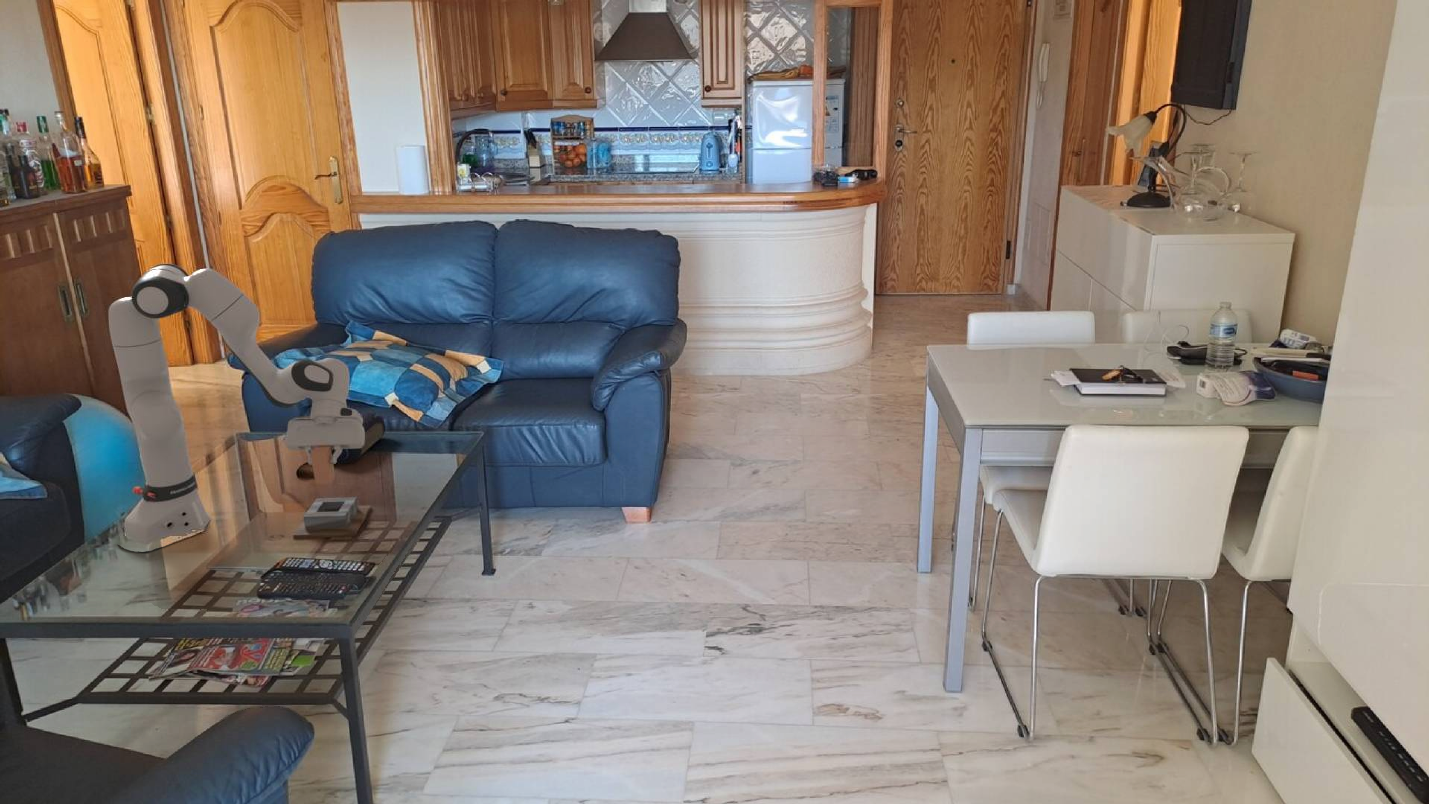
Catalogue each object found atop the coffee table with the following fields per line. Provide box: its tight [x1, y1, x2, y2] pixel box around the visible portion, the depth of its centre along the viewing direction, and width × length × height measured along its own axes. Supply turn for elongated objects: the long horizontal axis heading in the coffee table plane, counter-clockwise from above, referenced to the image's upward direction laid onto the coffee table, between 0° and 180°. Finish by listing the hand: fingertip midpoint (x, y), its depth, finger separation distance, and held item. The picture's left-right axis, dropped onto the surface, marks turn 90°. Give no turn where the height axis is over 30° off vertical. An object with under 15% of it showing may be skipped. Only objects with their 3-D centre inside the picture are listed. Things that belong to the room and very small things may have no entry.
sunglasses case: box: [295, 459, 338, 479], centre depth 301 cm, size 18×7×7 cm
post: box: [310, 446, 336, 485], centre depth 260 cm, size 4×4×9 cm
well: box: [292, 496, 372, 539], centre depth 265 cm, size 16×16×5 cm
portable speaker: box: [331, 411, 387, 464], centre depth 311 cm, size 25×10×10 cm, turn 173°
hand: (321, 463), depth 259 cm, fingers closed on post, 4 cm apart
